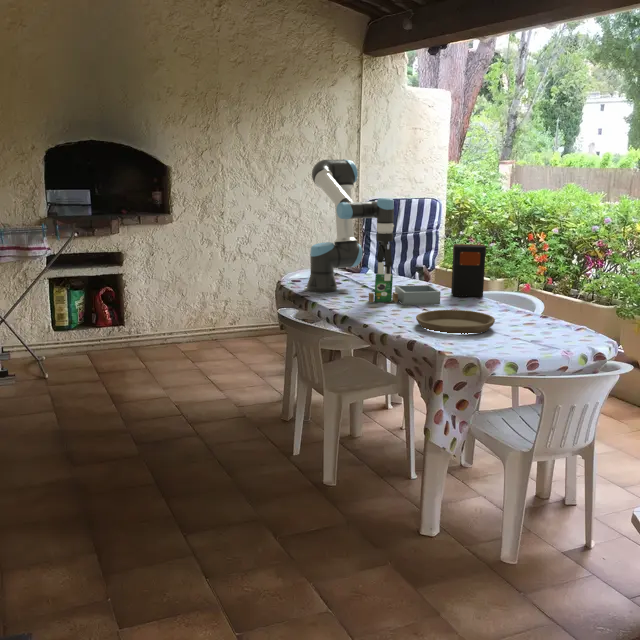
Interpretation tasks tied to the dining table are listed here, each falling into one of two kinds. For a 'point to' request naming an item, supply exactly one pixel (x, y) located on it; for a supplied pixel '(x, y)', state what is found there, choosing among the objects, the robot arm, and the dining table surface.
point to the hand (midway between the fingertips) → (384, 278)
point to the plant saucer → (455, 321)
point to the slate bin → (418, 295)
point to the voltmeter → (468, 270)
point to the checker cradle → (395, 297)
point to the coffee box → (383, 289)
